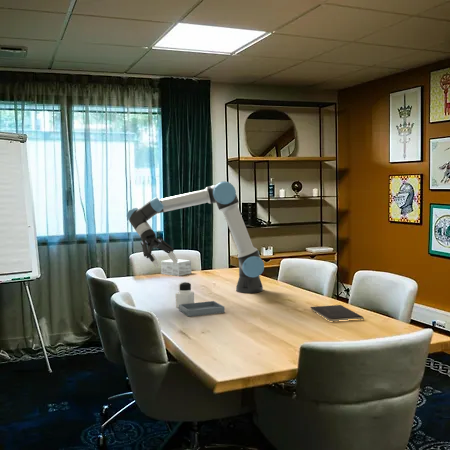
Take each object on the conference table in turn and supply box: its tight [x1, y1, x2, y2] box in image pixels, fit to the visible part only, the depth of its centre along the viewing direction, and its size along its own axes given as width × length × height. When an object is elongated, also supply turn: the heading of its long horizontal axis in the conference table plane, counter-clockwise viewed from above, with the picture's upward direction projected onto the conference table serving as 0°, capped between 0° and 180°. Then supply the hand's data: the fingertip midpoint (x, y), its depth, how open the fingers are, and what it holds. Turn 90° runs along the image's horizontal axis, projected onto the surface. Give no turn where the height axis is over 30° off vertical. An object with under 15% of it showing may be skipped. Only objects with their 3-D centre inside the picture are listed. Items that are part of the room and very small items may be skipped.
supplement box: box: [160, 258, 192, 277], centre depth 361 cm, size 17×13×9 cm
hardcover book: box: [310, 304, 364, 322], centre depth 239 cm, size 16×23×2 cm
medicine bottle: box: [175, 281, 195, 309], centre depth 260 cm, size 7×7×12 cm
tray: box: [178, 300, 226, 317], centre depth 250 cm, size 18×14×3 cm
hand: (167, 264), depth 265 cm, fingers open, 13 cm apart
